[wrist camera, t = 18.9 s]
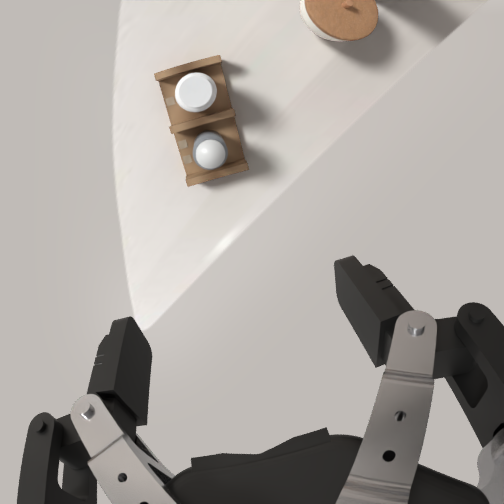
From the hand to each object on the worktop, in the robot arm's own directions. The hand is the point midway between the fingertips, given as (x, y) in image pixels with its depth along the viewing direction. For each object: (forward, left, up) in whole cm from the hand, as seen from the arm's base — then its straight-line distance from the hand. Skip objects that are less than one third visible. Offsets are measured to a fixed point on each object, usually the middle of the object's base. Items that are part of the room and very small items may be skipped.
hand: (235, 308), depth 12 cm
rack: (0, -4, -38) cm, 38 cm away
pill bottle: (0, -8, -37) cm, 38 cm away
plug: (0, 0, -37) cm, 37 cm away
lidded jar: (-22, -17, -38) cm, 47 cm away
